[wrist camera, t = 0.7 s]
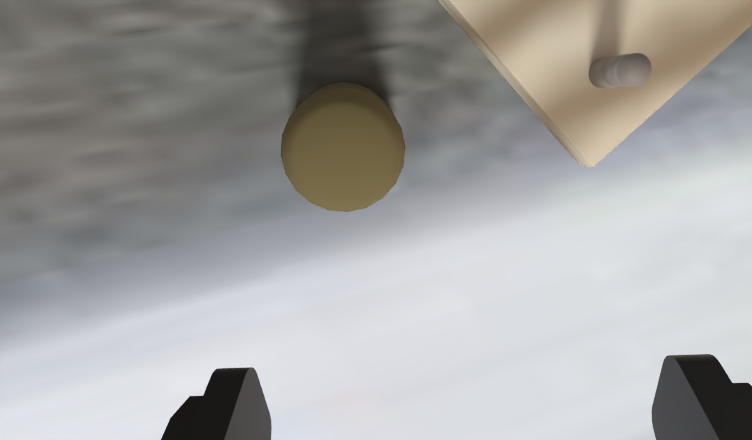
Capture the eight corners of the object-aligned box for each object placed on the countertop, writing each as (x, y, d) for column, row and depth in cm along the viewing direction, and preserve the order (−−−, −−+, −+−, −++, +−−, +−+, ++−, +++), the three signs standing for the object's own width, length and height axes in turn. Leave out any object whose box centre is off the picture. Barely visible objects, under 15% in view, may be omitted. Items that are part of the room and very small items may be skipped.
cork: (373, 65, 31) (386, 50, 21) (410, 163, 33) (441, 196, 22) (276, 105, 32) (239, 110, 21) (317, 200, 33) (302, 252, 22)
